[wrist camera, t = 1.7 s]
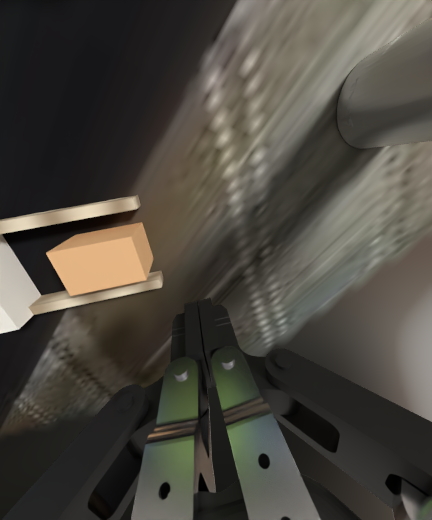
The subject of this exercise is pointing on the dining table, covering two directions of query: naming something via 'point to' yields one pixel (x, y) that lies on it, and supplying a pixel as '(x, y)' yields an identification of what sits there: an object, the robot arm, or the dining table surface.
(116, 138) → the dining table surface
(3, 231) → the guide lane
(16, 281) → the stop block
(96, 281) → the block
